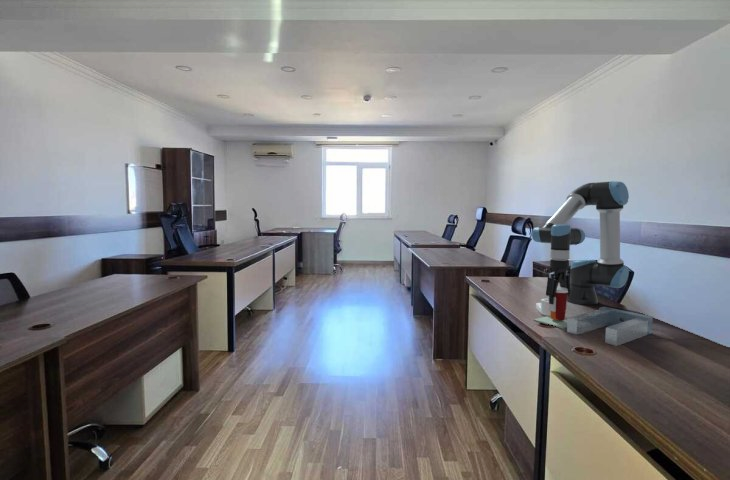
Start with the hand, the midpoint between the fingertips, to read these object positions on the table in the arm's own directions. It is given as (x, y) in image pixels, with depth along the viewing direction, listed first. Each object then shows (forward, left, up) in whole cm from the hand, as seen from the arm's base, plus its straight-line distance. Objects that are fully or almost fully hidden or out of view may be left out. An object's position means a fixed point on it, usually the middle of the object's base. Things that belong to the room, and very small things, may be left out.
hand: (557, 309), depth 172 cm
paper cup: (0, 0, -4) cm, 4 cm away
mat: (0, 0, -6) cm, 6 cm away
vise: (-8, +20, -6) cm, 22 cm away
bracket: (-12, -12, -6) cm, 18 cm away
